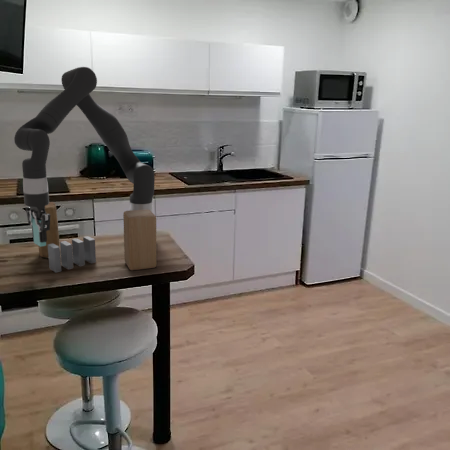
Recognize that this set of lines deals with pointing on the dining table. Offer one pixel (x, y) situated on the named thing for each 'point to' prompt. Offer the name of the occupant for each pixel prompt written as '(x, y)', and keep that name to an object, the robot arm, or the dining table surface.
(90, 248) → the domino
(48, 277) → the dining table surface
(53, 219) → the block
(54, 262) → the domino
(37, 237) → the domino
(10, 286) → the dining table surface
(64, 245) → the domino
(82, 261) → the domino
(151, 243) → the wooden block
